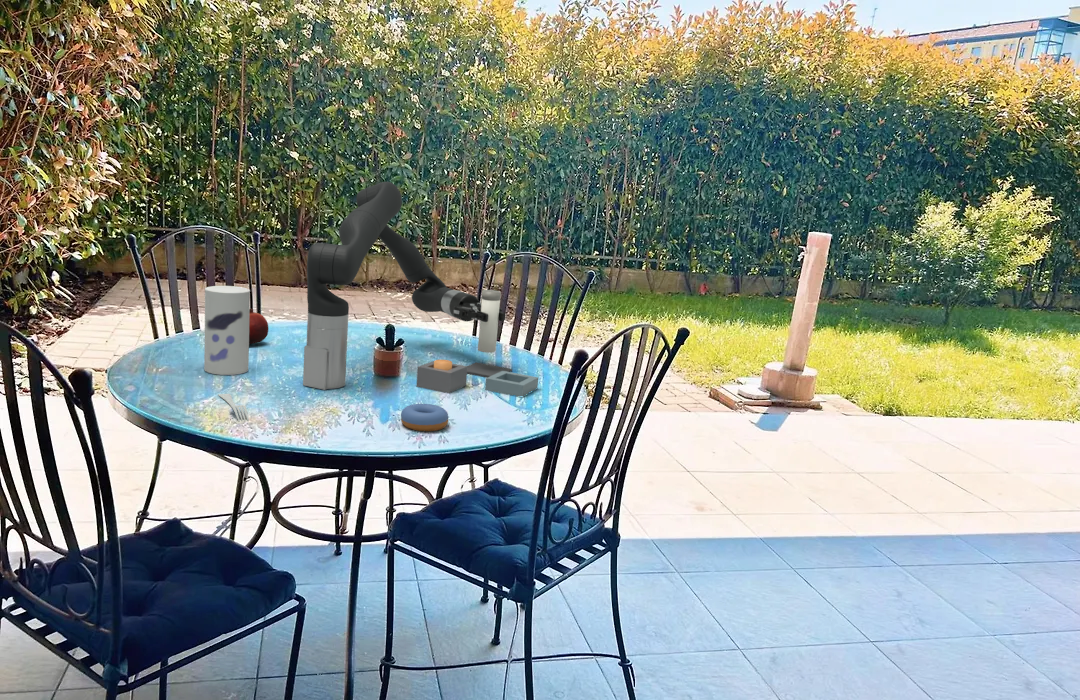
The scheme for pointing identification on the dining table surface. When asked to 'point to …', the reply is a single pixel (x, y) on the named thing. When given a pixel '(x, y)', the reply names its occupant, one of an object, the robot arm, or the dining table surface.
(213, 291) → the container
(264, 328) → the fruit
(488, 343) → the cylinder
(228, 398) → the fork
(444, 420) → the doughnut
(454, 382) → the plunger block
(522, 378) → the housing
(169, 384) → the dining table surface
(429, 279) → the robot arm
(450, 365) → the plunger
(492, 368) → the mat
